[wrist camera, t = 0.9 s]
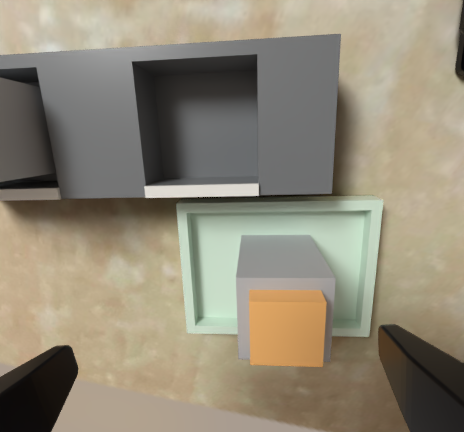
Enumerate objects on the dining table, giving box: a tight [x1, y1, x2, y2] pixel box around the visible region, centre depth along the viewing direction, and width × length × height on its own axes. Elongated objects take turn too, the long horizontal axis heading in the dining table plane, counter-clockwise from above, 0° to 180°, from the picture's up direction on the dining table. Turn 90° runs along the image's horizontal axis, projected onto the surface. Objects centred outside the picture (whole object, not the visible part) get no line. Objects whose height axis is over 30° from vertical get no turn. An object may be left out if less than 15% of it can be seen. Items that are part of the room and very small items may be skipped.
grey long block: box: [0, 34, 341, 201], centre depth 16 cm, size 22×7×4 cm, turn 92°
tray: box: [176, 195, 383, 337], centre depth 19 cm, size 12×9×2 cm
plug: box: [236, 235, 336, 367], centre depth 16 cm, size 4×4×7 cm
